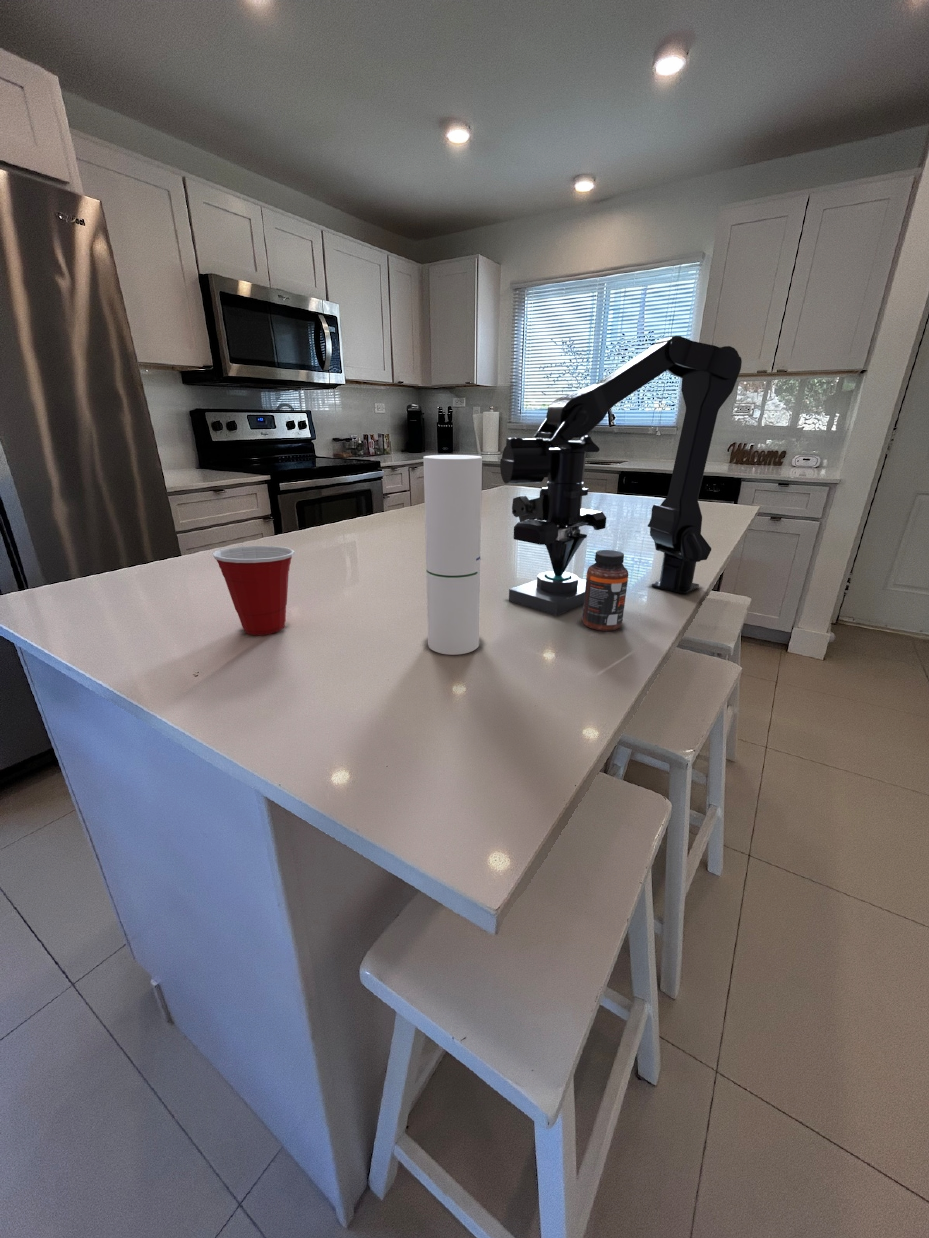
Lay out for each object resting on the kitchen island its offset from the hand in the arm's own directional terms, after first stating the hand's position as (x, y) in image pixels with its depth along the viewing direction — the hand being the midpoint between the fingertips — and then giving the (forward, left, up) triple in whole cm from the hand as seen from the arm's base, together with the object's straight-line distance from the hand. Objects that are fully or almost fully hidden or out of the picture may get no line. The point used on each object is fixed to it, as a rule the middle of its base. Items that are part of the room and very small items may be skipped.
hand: (558, 575), depth 87 cm
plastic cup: (+42, -23, -4) cm, 48 cm away
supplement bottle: (+5, +12, -4) cm, 14 cm away
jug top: (0, 0, -4) cm, 4 cm away
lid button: (0, 0, -2) cm, 2 cm away
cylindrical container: (+26, +1, -4) cm, 26 cm away
